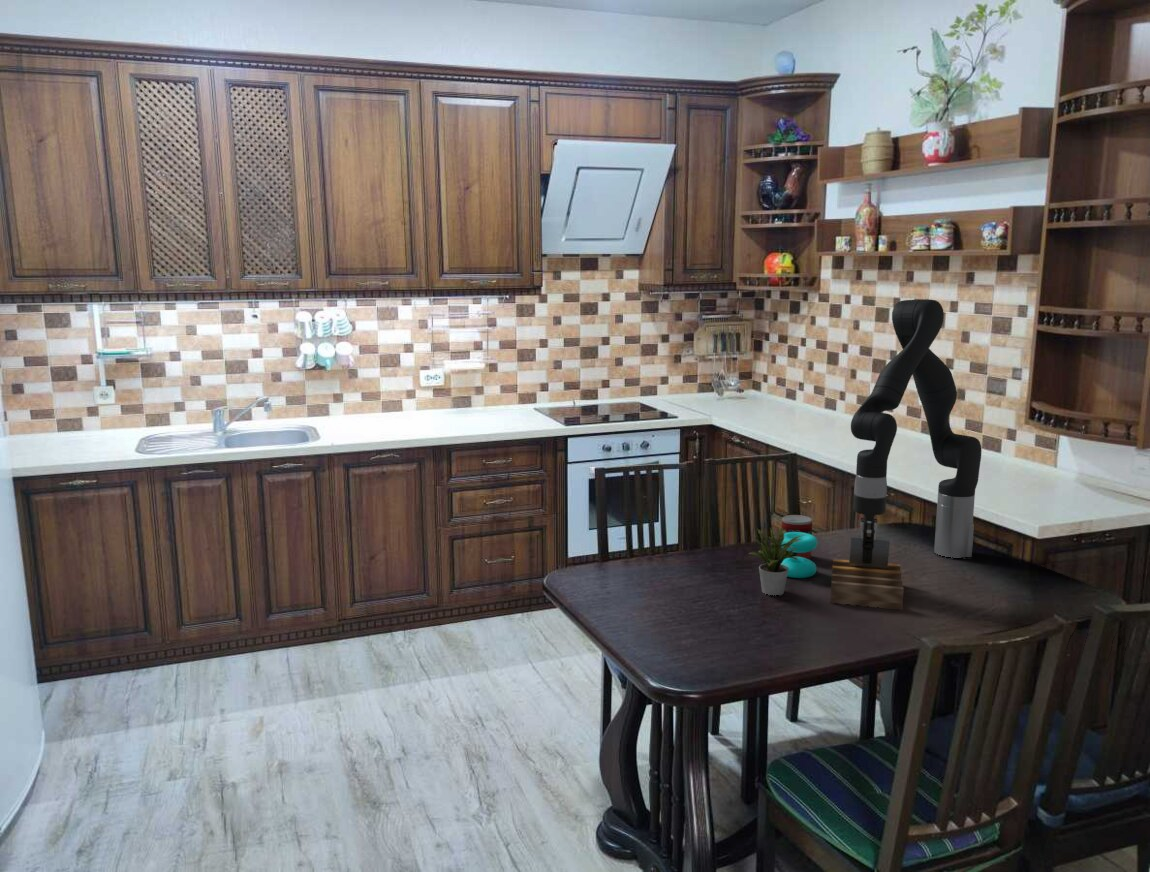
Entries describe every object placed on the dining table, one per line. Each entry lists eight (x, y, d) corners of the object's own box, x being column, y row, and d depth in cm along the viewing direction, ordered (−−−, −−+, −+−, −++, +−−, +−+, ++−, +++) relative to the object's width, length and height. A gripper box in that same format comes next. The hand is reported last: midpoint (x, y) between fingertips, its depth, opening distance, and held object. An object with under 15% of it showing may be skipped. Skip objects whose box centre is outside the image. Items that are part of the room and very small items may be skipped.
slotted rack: (899, 584, 226) (900, 564, 226) (902, 609, 210) (903, 588, 209) (832, 578, 231) (833, 559, 230) (830, 603, 215) (831, 581, 214)
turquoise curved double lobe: (780, 541, 230) (776, 530, 239) (779, 579, 231) (774, 566, 241) (820, 542, 229) (814, 530, 238) (819, 580, 230) (813, 567, 240)
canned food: (775, 554, 251) (776, 516, 249) (801, 551, 253) (802, 513, 251) (790, 563, 244) (791, 523, 242) (816, 560, 246) (817, 520, 244)
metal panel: (886, 576, 225) (889, 538, 223) (886, 580, 223) (889, 541, 221) (848, 572, 228) (851, 534, 226) (848, 576, 225) (851, 537, 223)
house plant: (805, 606, 213) (808, 539, 210) (745, 602, 216) (747, 536, 212) (803, 585, 227) (805, 522, 223) (746, 582, 229) (748, 519, 226)
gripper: (887, 501, 214) (883, 571, 217) (885, 487, 227) (882, 553, 230) (854, 499, 216) (850, 568, 219) (854, 485, 229) (851, 551, 232)
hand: (866, 560), depth 224 cm, fingers closed on metal panel, 2 cm apart
